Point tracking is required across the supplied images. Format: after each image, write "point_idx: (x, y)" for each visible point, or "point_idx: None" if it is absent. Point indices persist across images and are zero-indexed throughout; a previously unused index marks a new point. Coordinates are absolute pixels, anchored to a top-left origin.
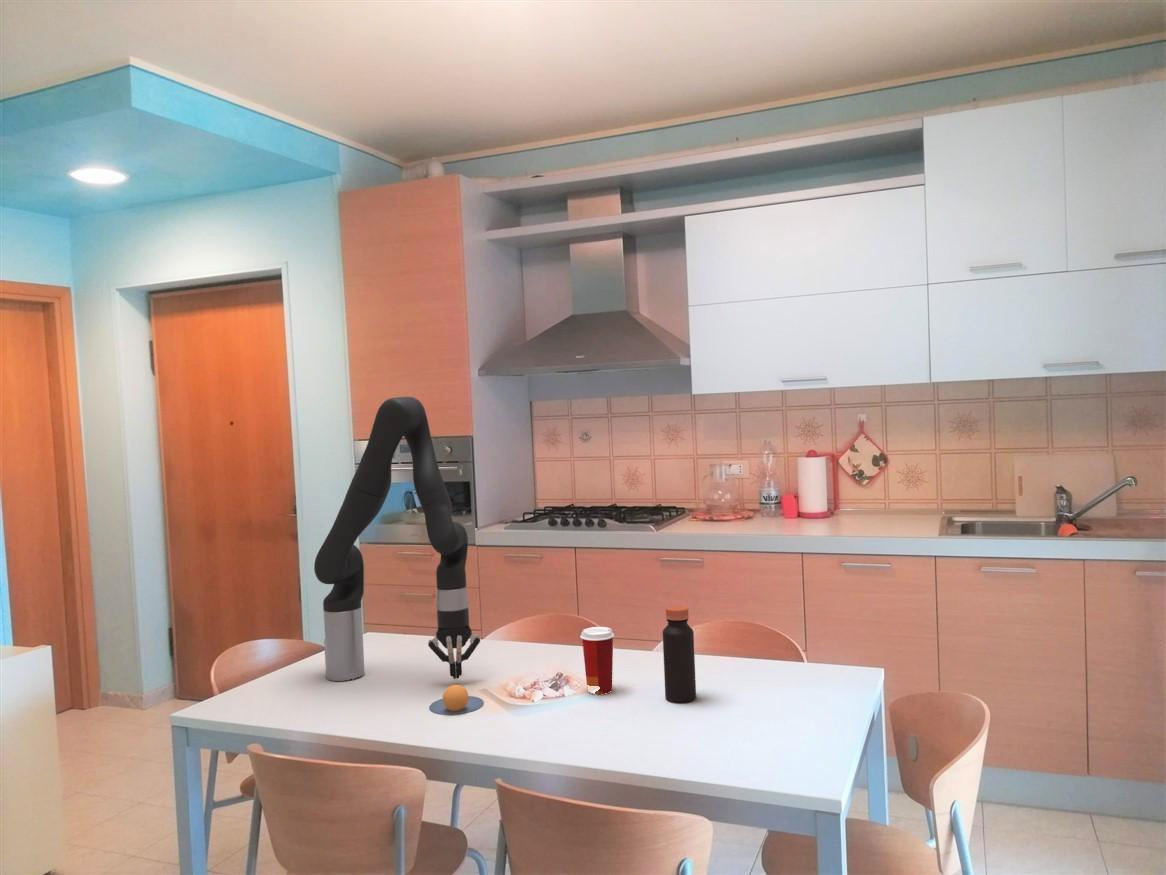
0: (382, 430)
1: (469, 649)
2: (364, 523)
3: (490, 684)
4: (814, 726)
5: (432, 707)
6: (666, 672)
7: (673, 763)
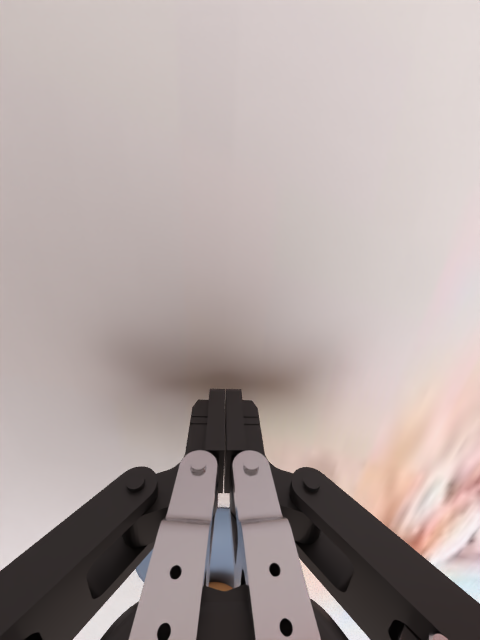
0: None
1: (346, 604)
2: None
3: (359, 425)
4: None
5: (145, 568)
6: None
7: None
